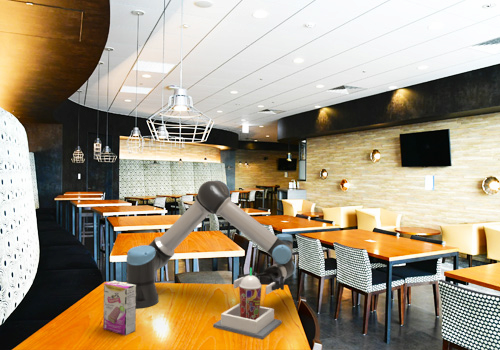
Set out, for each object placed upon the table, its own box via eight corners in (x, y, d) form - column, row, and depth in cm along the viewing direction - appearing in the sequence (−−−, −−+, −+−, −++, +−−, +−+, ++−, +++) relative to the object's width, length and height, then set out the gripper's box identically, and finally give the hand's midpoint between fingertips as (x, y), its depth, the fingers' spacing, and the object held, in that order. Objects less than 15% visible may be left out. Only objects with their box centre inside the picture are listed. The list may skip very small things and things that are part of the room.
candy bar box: (102, 329, 129) (103, 283, 129) (113, 324, 133) (114, 279, 134) (125, 336, 124) (126, 288, 124) (136, 331, 128) (136, 284, 128)
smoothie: (258, 327, 130) (260, 271, 130) (235, 325, 131) (237, 269, 132) (262, 319, 138) (263, 266, 138) (240, 317, 139) (242, 264, 140)
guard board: (213, 327, 132) (213, 313, 132) (235, 313, 146) (235, 300, 147) (262, 339, 123) (262, 324, 123) (281, 323, 137) (281, 309, 137)
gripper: (302, 288, 148) (280, 303, 129) (248, 279, 160) (221, 292, 141) (302, 269, 148) (281, 282, 129) (248, 262, 160) (222, 272, 141)
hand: (250, 287), depth 135 cm, fingers open, 13 cm apart
